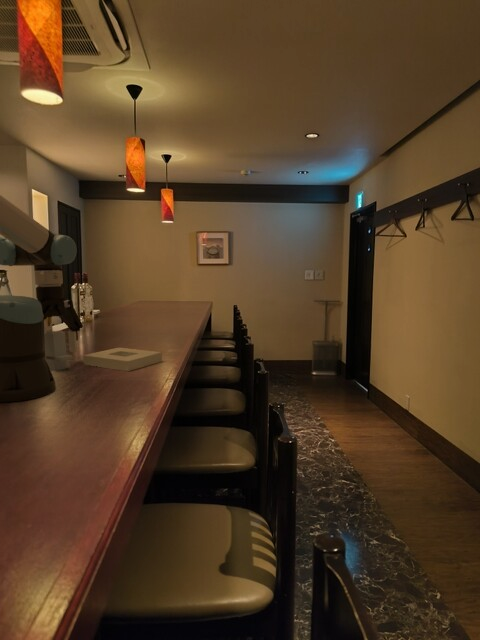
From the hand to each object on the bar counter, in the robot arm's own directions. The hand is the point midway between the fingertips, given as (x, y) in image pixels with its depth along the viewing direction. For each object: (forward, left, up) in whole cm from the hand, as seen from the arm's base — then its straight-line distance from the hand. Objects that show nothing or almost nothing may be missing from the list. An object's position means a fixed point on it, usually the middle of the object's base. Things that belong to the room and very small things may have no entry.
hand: (54, 355), depth 128 cm
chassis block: (+15, -14, -4) cm, 20 cm away
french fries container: (+11, +20, -4) cm, 23 cm away
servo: (0, 0, -4) cm, 4 cm away
